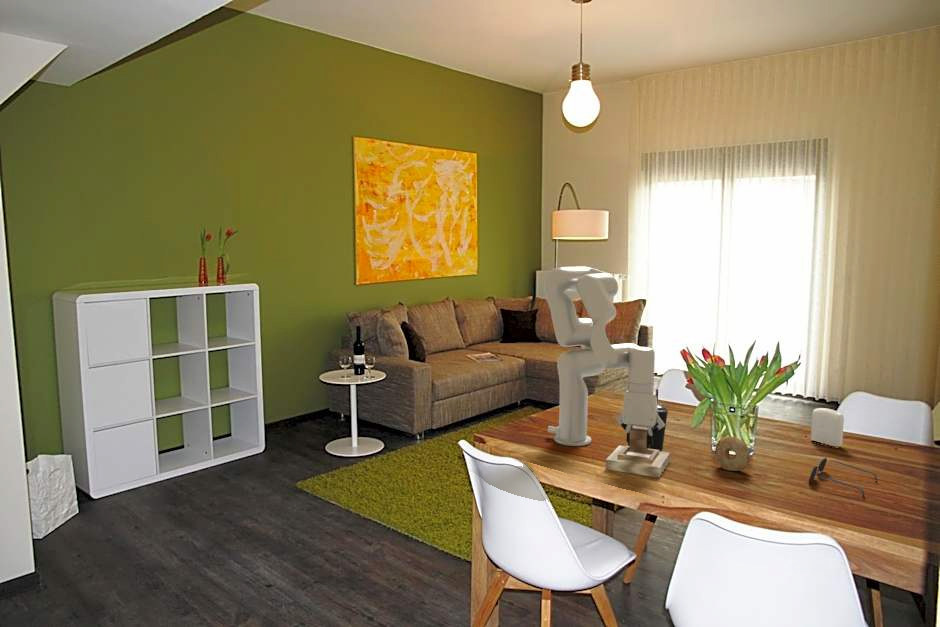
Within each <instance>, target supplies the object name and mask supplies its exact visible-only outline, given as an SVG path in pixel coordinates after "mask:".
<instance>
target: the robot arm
mask: <svg viewBox="0 0 940 627" xmlns="http://www.w3.org/2000/svg"><path fill="white" fill-rule="evenodd" d="M618 291H619V284H618V282H617V279H616V278H615V277H614V275H612V274H610V273H608V272H606V271H602V270H599V269H596V268H592V267H590V266H561V267H556V268H552V269H551V270H549V271H548V273H546V276H545V277H544V282H543V293H544V296H545V299H546V302H547V305H548V307H549V310H550V315H551V321H552V324H553V328H554V334H555V338H556V341H557V344H558V345H560V346H561V347H565V348H569V347H578V346H579V347H581V348H580V349H571V350H567V351H564V352H562V353H561V354H560V355H559V356H558V358H557V362H556V363H557V364H556V367H557V373H558V377H559V378H558V381H559V411H558V412H559V413H558V414H559V416H558V426H553V425H548V427H547V432H548V433H549V434H555V435H554V438H553V440H554V442H555V443H557V444H560V445H562V446H571V447H581V446H583V447H584V446H587V445H590V444H592V443H591V442H592V437H591V436H590V435H588V404H589V402H588V401H589V399H588V397H589V396H588V395H589V392H588V387H587V385H586V383H585V381H584V378H585V377H593V376H594V377H595V376H597V375H600V374H602V373H603V372H604V371H605V369H606V370H616V369H617V370H618V369H626V368H628V380H627V382H623V387H624V388H627V390H625V392H624V397H623V402H622V404H623V405H622V411H621V414H620V415H618V417H617V418H616V419H615V422H617V423H618V424H619V425H620V426H621V428H622V429H623V430H624V431H625V433H626V443H627V446H629V442H630V429H631V428H632V427H633V426H638V427H647V430H648V435H647V448H650V447H651V445H653V434H654V433H655V432H657V431H658V430H659V429H661V428H663V427H664V426H665V424H664V422H663V421H662V420H661V418H660V417H659V416H658V406H657V397H656V391H655V353H656V352H655V350H654V349H653V348H652V347H648V346H640V345H638V344H635V343H631V342H624V343H619V344H618V343H615V344H611V342H610V340H609V339H608V337H607V333H606V325H607V324H609V323H610V322H612V320H614V319H615V318H616V316H617V312H618V311H617V309H616V307H615V305H614V303H613V301H612V298H614V297H616V295H617V294H618ZM568 292H577V294H578V295H579V296H578V297H580V300H581V302H582V304H583V306H584V307H585V310H586V312H587V315H588V316H589V317H578V314H577V310H576V306H575V303H574V302H573V300H572V298H571V297H570V295H568V294H567V293H568ZM656 423H658V426H656V427H655V428H653V426H654V425H655V424H656Z"/></svg>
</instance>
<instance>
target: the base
mask: <svg viewBox="0 0 940 627" xmlns="http://www.w3.org/2000/svg"><path fill="white" fill-rule="evenodd" d="M670 460H671V453H670V452H667V451H662V450H655V449H647V450H646V451H640V450H633V449H629V446H628V444H626V445H618V446H617V447H616V448H615V449H614V451H613V452H611V454H609V455H608V457H607V458H606V459H605V470H610V471H613V472H614V471H615V472H620V473H627V474H628V473H629V474H633V475H634V474H635V475H639V476H646V477H647V476H648V477H652V478H658V477H659V478H660V477H661V476H662V474H663V473H664V471H665V470H666V468H667V467H668V466H669V464H670ZM668 463H669V464H668ZM666 466H667V467H666ZM664 469H665V470H664ZM662 472H663V473H662ZM660 475H661V476H660Z"/></svg>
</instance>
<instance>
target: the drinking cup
mask: <svg viewBox="0 0 940 627" xmlns="http://www.w3.org/2000/svg"><path fill="white" fill-rule="evenodd" d="M655 393H656V397H657V406H658V416H659V417H660V418H661V420H662V421H663V422H664V424H665V426H664V427H663V428H661V429H659V430H658V431H657V432H655V433H654V434H653V445H651V447H650V448H648V449H655V450H659V451H662V450H663V449H664V439H665V434H666V426H667V419H668V413H669V408H668V407H666V406H664V405H661V404H659V388H658V389H655ZM656 426H658V423H656V424H655V425H654V426H653V428H655V427H656Z"/></svg>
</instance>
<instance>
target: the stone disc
mask: <svg viewBox="0 0 940 627" xmlns="http://www.w3.org/2000/svg"><path fill="white" fill-rule="evenodd" d="M731 451H734V452H735V456H731V454H730V452H731ZM714 459H715V461H716V464H718V465H719V466H720V468H722V469H724V470H726V471H733V472H738V471H743V470H744V469H746V468H747V467H748V466H749V465H750V463H751V460H752V459H751V455H750V450H749V447H748V445H747V443H746V442H745V441H744V440H742V439H741V438H739V437H736V436H725V437H721V438H720V439H719V440H718V441H717V443H716V445H715V448H714Z"/></svg>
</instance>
